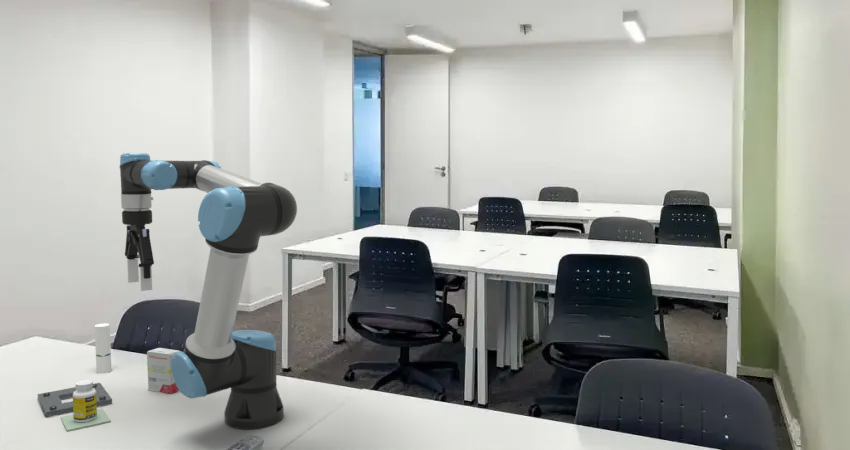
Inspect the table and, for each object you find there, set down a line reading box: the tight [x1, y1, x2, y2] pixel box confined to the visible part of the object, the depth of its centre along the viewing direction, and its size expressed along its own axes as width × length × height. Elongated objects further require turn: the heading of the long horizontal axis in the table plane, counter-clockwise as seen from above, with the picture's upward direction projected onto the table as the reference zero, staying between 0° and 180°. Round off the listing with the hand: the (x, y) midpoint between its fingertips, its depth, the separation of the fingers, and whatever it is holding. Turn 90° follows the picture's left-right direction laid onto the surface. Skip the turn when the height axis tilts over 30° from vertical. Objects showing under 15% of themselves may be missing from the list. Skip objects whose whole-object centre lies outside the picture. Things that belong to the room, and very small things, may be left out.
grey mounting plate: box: [37, 382, 113, 418], centre depth 179 cm, size 16×16×2 cm
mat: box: [60, 408, 112, 432], centre depth 167 cm, size 10×10×1 cm
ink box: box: [146, 347, 180, 394], centre depth 189 cm, size 9×5×12 cm, turn 70°
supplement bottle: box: [72, 379, 98, 422], centre depth 166 cm, size 5×5×10 cm
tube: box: [94, 322, 113, 374], centre depth 204 cm, size 4×4×15 cm
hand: (139, 286), depth 178 cm, fingers open, 13 cm apart
